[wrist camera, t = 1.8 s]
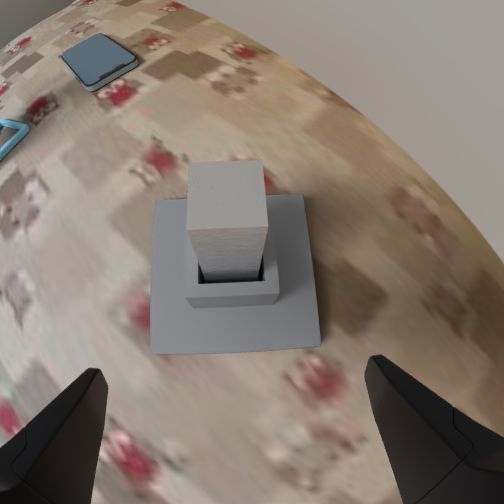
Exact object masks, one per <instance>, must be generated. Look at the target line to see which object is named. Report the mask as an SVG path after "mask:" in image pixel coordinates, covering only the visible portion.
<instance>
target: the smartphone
mask: <svg viewBox="0 0 504 504" xmlns="http://www.w3.org/2000/svg"><path fill="white" fill-rule="evenodd" d="M61 59H62V61H63V62H64V63H65V65H66V66H67V67H68V68H69V70H70V71H71V72H72V73H73V74H74V76H75V77H76V79H77V80H78V81H79V82H80V83H81V84H82V85H83V86H84V87H85V89H86V90H87V91H89V92H91V91H95V90H97V89H99V88H101V87H102V86H104V85H105V84H107V83H109V82H110V81H112V80H114V79H116V78H117V77H119V76H121V75H123V74H124V73H126V72H128V71H130V70H132V69H133V68H135V67H136V66H137V65H138V60H137V57H136V56H134V55H133V54H131V53H130V52H128V51H127V50H126V49H124V48H123V47H121V46H120V45H118V44H117V43H115V42H114V41H112V40H111V39H109V38H108V37H106V36H105V35H103V34H101V33H99V34H95V35H93V36H91V37H90V38H88V39H86V40H84V41H82V42H81V43H79V44H77V45H76V46H74V47H72V48H70V49H69V50H67V51H66V52H64V53H63V54H62V55H61Z"/></svg>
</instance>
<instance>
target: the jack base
mask: <svg viewBox="0 0 504 504" xmlns="http://www.w3.org/2000/svg"><path fill="white" fill-rule="evenodd" d="M265 196H266V206H267V217H268V230H267V235H266V240H265V245H264V249H263V254H262V259H261V263H260V268H259V273H258V277H257V282H236V283H214V284H207V283H206V280H205V278H204V275H203V272H202V270H201V267H200V265H199V262H198V259H197V257H196V254H195V251H194V249H193V246H192V243H191V241H190V238H189V235H188V233H187V199H174V200H160V201H155V208H154V221H153V237H152V257H151V290H150V341H151V354H218V353H241V352H258V351H272V350H285V349H296V348H307V347H316V346H321V339H320V328H319V318H318V309H317V299H316V290H315V281H314V273H313V265H312V257H311V249H310V242H309V234H308V227H307V220H306V213H305V207H304V200H303V194H294V195H265Z"/></svg>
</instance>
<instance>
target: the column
mask: <svg viewBox="0 0 504 504" xmlns="http://www.w3.org/2000/svg"><path fill="white" fill-rule="evenodd" d="M267 230H268V217H267V206H266V196H265V185H264V175H263V165H262V160H248V161H222V162H203V163H189V171H188V195H187V233H188V235H189V238H190V241H191V243H192V246H193V249H194V251H195V254H196V257H197V259H198V262H199V265H200V267H201V270H202V272H203V275H204V278H205V280H206V283H207V284H214V283H236V282H257V277H258V273H259V268H260V263H261V259H262V254H263V249H264V245H265V240H266V235H267Z"/></svg>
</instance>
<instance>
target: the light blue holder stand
mask: <svg viewBox="0 0 504 504" xmlns="http://www.w3.org/2000/svg"><path fill="white" fill-rule="evenodd" d="M0 102H1V101H0ZM2 126H6V127H10V128H14V129H18V130H19V131H18V132H17V133H16V134H15V135H14V136H13V137H12V138H11V139H10V140H9V141H8V142H7V143H6V144H5V145H4V146H3V147H2V148H1V149H0V161H1V160H2V158H3V157H4V156H5V155H6V154H7V153H8V152H9V151H10V150H11V149H12V148H13V147H14V146H15V145H16V144H17V143H18V142H19V141H20V140H21V139H22V138H23V137H24V136H25V135H26V134H27V133H28V131H29V130H30V129H29V127H28V126H27V124H23V123H19V122H14V121H10V120H5V119H0V128H1V127H2Z"/></svg>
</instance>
